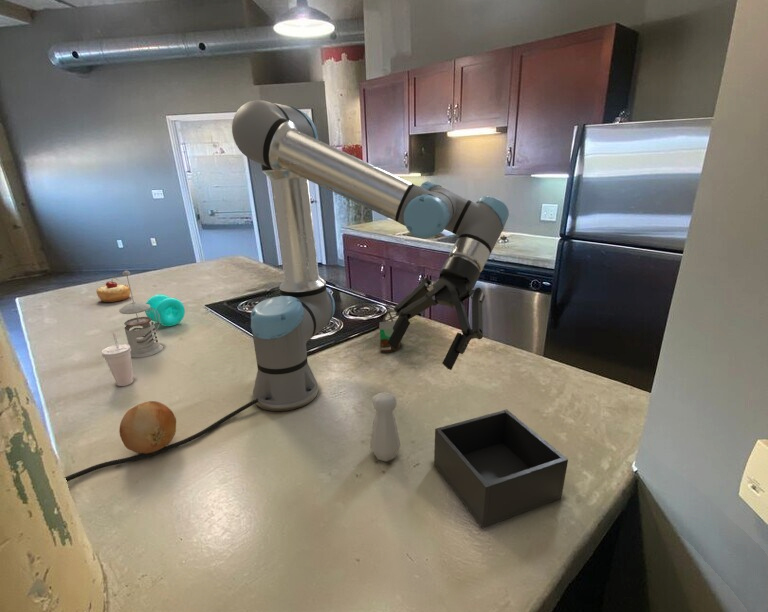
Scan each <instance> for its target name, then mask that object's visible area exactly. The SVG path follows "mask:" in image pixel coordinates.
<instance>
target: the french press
mask: <svg viewBox="0 0 768 612" xmlns="http://www.w3.org/2000/svg"><path fill="white" fill-rule="evenodd" d="M130 275H131V272H130V271H129V270H124V271H123V272H122V276H126V279H127V283H128V286H129V287H130V296H131V299H132V302H130V303H127V304H125V305H123V306H122V307H121V308H120V309H119V310H118V312H119V313H120V314H123V315H135V316H136V317H134V318H130V319H127V320H126V321H125V322H124V323H123V324H124V331H125V336H126V340H127V343H128V345H130V347H131V351H130V354H131V358H144V357H145V358H146V357H150V356H153V355H156V354H158V353H159V352H161V351H162V350H163V349H164V346H163V345H162V344H160V343H159V339H158V335H157V332H156V331H157V330H158V329H159V327H160V325H161V324H160V316H159V322H158V325H157V322H156V315H155V322H154V321H152V319H151V318H150V317H147V316H138V314H140V313H145V311H146V310H148V309H149V312H147V311H146V312H147V313H150V310H152V308H150V307H151V306H150V305H149V304H146V303H147V302H142V301H141V302H139V301H135V300H134V296H133V292H132V289H131V284H130V280H129V277H128V276H130ZM153 310H155V309H153ZM153 310H152V311H153ZM155 311H156V310H155ZM156 312H157V311H156ZM153 313H154V311H153ZM157 313H158V312H157ZM154 314H155V313H154ZM158 315H159V313H158ZM156 325H157V328H156Z"/></svg>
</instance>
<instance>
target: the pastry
mask: <svg viewBox="0 0 768 612" xmlns="http://www.w3.org/2000/svg"><path fill="white" fill-rule="evenodd" d="M113 279H114V280H117V281H119V279H118V278H117V277H112V278H111V281H106V283H105V285H104V286H101V287H98V288H97V289H96V292H95V293H96V296H97V297H98V299H99V300H100V301H101V302H105V303H113V302H115V303H116V302H120V301H124V300H127V299H128V298H129V297H130V296H131V291H130V288H131V286H130V287H129V284H128V285H127V284H123V283H121V284H120V283H117V282H115V281H113Z"/></svg>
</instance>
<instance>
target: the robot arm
mask: <svg viewBox="0 0 768 612" xmlns="http://www.w3.org/2000/svg"><path fill="white" fill-rule="evenodd" d="M231 134H232V138H233V142H234V144H235V146H236V147H237V149H238V150H239V152H241V154H243V155H244V156H245V157H246V158H248V159H249V160H251V161H253V162H255V163H258V164H260V165H261V172H262V173H263V174H264V175H265V176H266V177H267V178H268V179H269V180H270V187H271V194H272V200H273V207H274V214H275V221H276V222H275V223H276V228H277V229H276V230H277V236H278V243H279V249H280V259H281V263H282V269H283V270H282V271H283V278H284V280H283V281H282V283H281V284H280V285H279V293H280V296H279V295H277V296H273V297H271V298H266V299H263V300H261V301H260V302H258V303H256V305H254V307H253V308H252V309H251V312H250V330H251V332H252V338H253V339H252V340H253V346H254V353H255V358H256V367H257V372H256V377H255V381H254V384H253V385H254V386H253V389H252V390H253V391H252V397H253V400H251V401H249V402H248V403H245V404H244V405H242V406H241V407H239V408H237V409H235V410H234V411H231V412H230V413H229V414H227V415H225V416H223V417H221V418H220V419H218V420H217V421H215V422H213V423H212V424H211V425H209V426H207V427H206V428H203V429H202V430H201V431H199V432H197V433H194V434H192V435H190V436H188V437H186V438H183V439H182V440H179V441H176V442H174V443H171V444H168V445H166V446H165V447H164V448H162V449H160V450H158V451H156V452H153V453H147V454H141V453H138V454H136V455H132V456H128V457H123V458H119V459H118V458H117V459H113V460H109V461H104V462H101V463H98V464H95V465H91V466H89V467H87V468H84V469H82V470H79V471H77V472H74V473H71V474H69V475H67V476H65V477H64V478H66V480H67V482H66V483H69V482H70V481H72V480H75V479H77V478H80V477H82V476H84V475H87V474H90V473H92V472H94V471H95V472H96V471H97V470H101V469H104V468H108V467H111V466H117V465H122V464H127V463H130V462H134V461H138V460H142V459H145V458H149V457H152V456H154V455H158V454H161V453H164V452H168V451H170V450H173V449H176V448H178V447H181V446H183V445H186V444H188V443H190V442H192V441H194V440H196V439H198V438H200V437H202V436H203V435H206V434H207V433H209V432H210V431H212V430H214V429H215V428H217V427H219V426H221V424H223V423H224V422H226V421H228V420H230V419H231V418H233V417H235V416H237V415H238V414H241V412H244V411H245V410H247V409H249V408H251V407H252V406H254V405H256V406H257V407H258V408H260V409H262V410H265V411H271V412H287V411H288V412H289V411H293V410H296V409H299V408H302V407H305V406H306V405H309V403H311V402H312V401H314V399H316V398H317V396H318V393H319V389H318V382H317V379H316V377H315V375H314V373H313V371H312V368H311V367H310V364H309V360H308V351H307V343H308V342H309V341H310V340H312V338H314V337H315V336H316V335H317V334H318V333H319V332H321V331H322V330H324V329H325V328H326V327H327V326H328V324H329V323H330V322H331V321H332V319H333V318H334V315H335V311H336V302H335V298H334V296H333V294H332V293H331V292H330V291H329V289H328V288H327V282H326V280H325V279H323V278H322V277H321V276H320V273H319V264H318V256H317V246H316V237H315V230H314V229H315V227H314V220H313V213H312V202H311V195H310V185H309V182H312V183H313V184H316V185H317V186H319V187H321V188H324V189H326V190H328V191H330V192H333V193H335V194H337V195H339V196H341V197H343V198H345V199H347V200H350V201H352V202H353V203H354V202H355V203H356V204H357V205H360V206H362V207H364V208H366V209H368V210H371V211H373V212H375V213H377V214H380V215H381V216H384V217H386V218H388V219H390V220H392V221H394V222H396V223H399V224H400V225H401V226H403V227H405V228H406V230H407V231H408V232H409V233H410V234H411V235H412V236H414V237H415V238H418V239H431V238H434V237H436V236H438V235H440V234H441V233H443V232H444V231H445V230H446V231H448V232H450V233H452V234H454V235H456V236H458V237H457V239H456V241H455V243H454V244H453V246H452V247H451V250H450V252H449V254H448V258H446V260H445V262H444V263H443V265H442V267H441V269H440V271H439V277H438V279H436V281H434V280H431V279H430V277H428V276H425V277H424V278H423V279H422V280H421V282H420V283H419V285H418V286H416V287H415V288H414V289H413V290H412V291H411V292H410V293H408V294H407V295H406V296H405V297H404V298H403V299H402V300H401V301H399V302H398V303H397V304H396V305H395V306H394V308H393V310H395V311H396V312H397V313H398V315H399V317H398V319H397V320H396V322H395V325H394V326H393V330H394V331H393V333H392V335H391V337H390V339H389V340H388V342H387V344H388V345H390V346H391V347H392V348H393V349H395V351H397V350H396V349H397V347H398V345H399V343H400V342H402V340H403V338H404V336H405V334H406V332H407V330H408V329H409V326H410V324H411V321H410V319H412V318H414V317H416V316H418V315H419V314H421V313H422V312H424V311H425V310H428V309H429V308H431V307H434V306H437V305H440V306H447V307H449V308H451V309H452V308H455V311H456V314H457V315H456V316H457V318H458V322H459V325H460V329H461V330H460V332H456V334H455V337H454V339H453V340H452V342H451V345H450V346H449V349H448V351H447V352H446V354H445V357H444V358H443V360H442V365H443V366H444V367H445V368H446V369H447V370H450V371H452V369H453V368H454V365H455V364H456V361H457V360H458V357H459V355H463V354H464V353H465V352H466V350H467V348H468V346H469V343H470V342H471V340H474V339H476V340H482V339H483V337H484V323H483V322H484V321H483V303H484V300H485V297H486V295H485V294H484V292H483V290H482V289H481V288H480V287H476V288H475V286H476V284H477V282H478V280H479V278H480V276H481V273H482V271H484V268H485V266H486V264H487V261H488V260H489V259H490V256H491V253H492V252H493V250H494V248H495V246H496V244H497V242H498V241H499V238H500V236H501V234H502V233H503V230H504V229H505V226H506V223H507V221H508V219H509V215H510V211H509V207H508V205H506V204H505V202H504V201H502V200H501V199H499V198H498V197H495V196H492V197H490V196H489V195H485V196H481V197H480V198H478V199H477V200H476V201H474V200H470V199H468V198H465V197H463V196H461V195H459V194H457V193H455V192H453V191H451V190H449V189H446V188H445V187H442V185H440V184H437V183H434V182H431V181H428V180H427V181H424V182H422V183H421V184H420V185H416V184H414V183H412V182H410V181H409V180H406V179H403V178H401V177H400V176H398V175H395V174H392V173H391V172H388V171H387V170H384V169H382V168H380V167H378V166H377V165H373V164H371V163H369V162H367V161H364V160H362V159H360V158H358V157H356V156H354V155H351V154H349V153H348V152H345V151H343V150H340V149H338V148H336V147H334V146H332V145H330V144H328V143H326V142H324V141H321V140H319V136H318V131H317V128H316V125H315V123H314V122H313V120H312V118H311V117H310V116H309V115H308V114H307V113H305V111H303V110H301V109H298V108H296V107H294V106H293V105H286V104H280V103H275V102H270V101H268V100H262V99H261V100H259V99H255V100H250V101H248V102H245V103H244V104H242V105H241V106H240V107H239V108H238V109H237V111H236V112H235V114H234V116H233V119H232V122H231ZM474 288H475V289H474ZM469 298H470V299H471V324H470V321H469V318H468V314H467V311H466V310H467V309H466V306H465V303H464V302H465V301H466V300H468V299H469ZM400 344H401V343H400Z"/></svg>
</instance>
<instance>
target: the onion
mask: <svg viewBox="0 0 768 612" xmlns="http://www.w3.org/2000/svg"><path fill="white" fill-rule="evenodd" d="M176 431H177V418H176V416H175V414H174V412H173V410H172V409H170V408H169V407H168V406H167V405H166V404H164V403H162V402H160V401H156V400H149V401H144V402H141V403H139V404H137V405H135V406H133V407H131V408H129V409H128V410H127V411H126V412H125V413H124V415H123V417H122V419H121V421H120V423H119V437H120V440H121V443H122V444H123V445H124V447H125V448H126V449H128V450H129V451H131V452H134V453H135V454H147V453H153V452H156V451H158V450H160V449H162V448H164V447H165V446H168V445H170V443H171V442H172V440H173V439H174V437H175V435H176Z"/></svg>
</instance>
